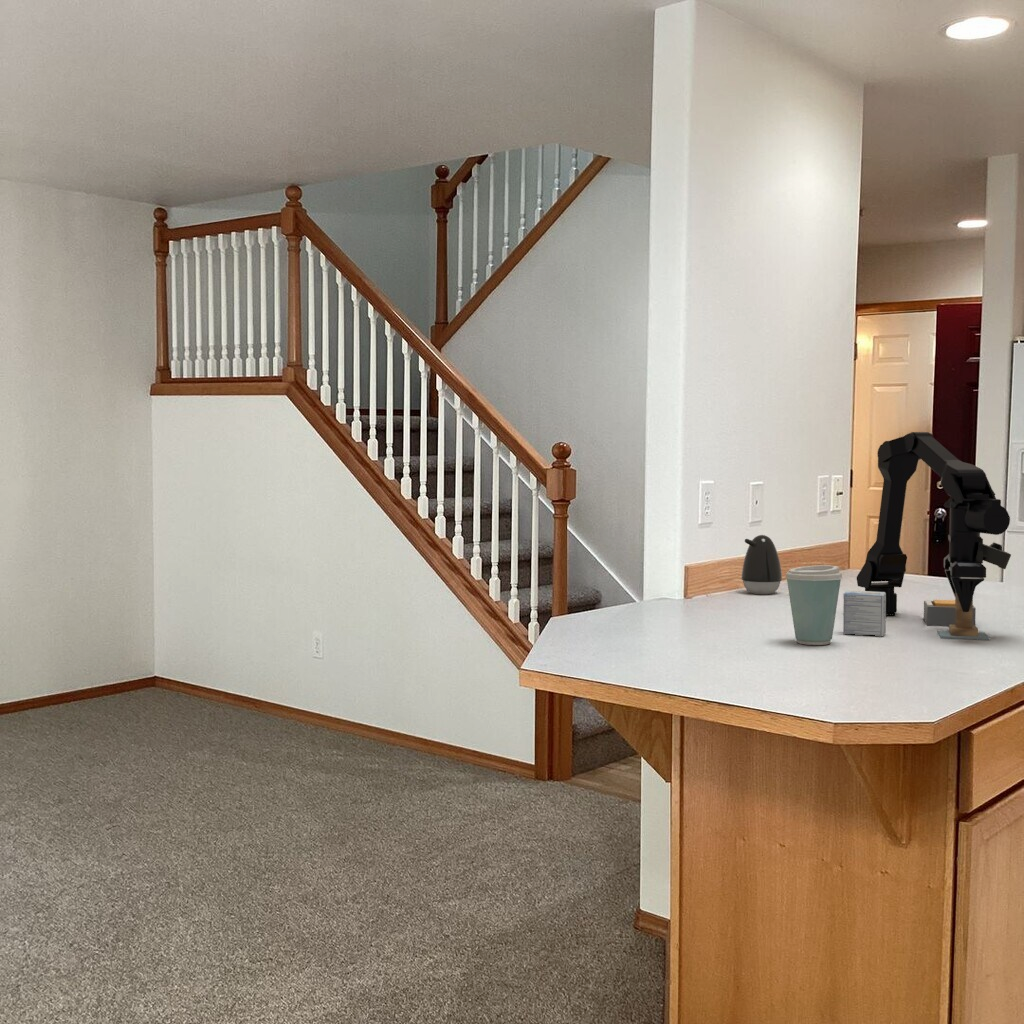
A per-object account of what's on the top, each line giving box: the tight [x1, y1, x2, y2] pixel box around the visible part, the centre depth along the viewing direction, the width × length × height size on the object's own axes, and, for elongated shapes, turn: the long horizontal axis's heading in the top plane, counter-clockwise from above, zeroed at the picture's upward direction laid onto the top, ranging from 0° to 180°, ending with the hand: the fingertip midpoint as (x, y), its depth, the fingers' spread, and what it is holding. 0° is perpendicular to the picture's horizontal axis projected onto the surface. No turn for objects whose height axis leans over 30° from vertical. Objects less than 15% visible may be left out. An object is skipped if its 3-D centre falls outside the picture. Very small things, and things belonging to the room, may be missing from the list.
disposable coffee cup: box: [785, 564, 843, 646], centre depth 228 cm, size 11×11×15 cm
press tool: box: [948, 591, 979, 637], centre depth 235 cm, size 5×5×8 cm
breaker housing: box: [923, 600, 977, 627], centre depth 252 cm, size 10×10×4 cm
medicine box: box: [842, 590, 887, 637], centre depth 238 cm, size 8×4×9 cm, turn 65°
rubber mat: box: [937, 630, 990, 641], centre depth 235 cm, size 9×7×1 cm
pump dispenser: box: [741, 534, 783, 596], centre depth 302 cm, size 10×10×15 cm
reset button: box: [932, 599, 955, 607], centre depth 252 cm, size 6×6×3 cm
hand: (963, 608), depth 235 cm, fingers open, 9 cm apart
